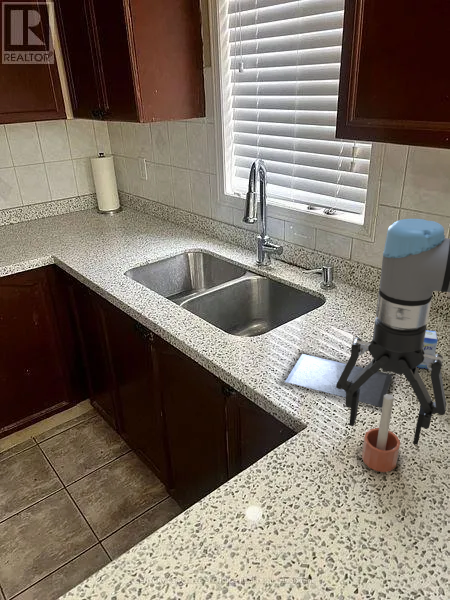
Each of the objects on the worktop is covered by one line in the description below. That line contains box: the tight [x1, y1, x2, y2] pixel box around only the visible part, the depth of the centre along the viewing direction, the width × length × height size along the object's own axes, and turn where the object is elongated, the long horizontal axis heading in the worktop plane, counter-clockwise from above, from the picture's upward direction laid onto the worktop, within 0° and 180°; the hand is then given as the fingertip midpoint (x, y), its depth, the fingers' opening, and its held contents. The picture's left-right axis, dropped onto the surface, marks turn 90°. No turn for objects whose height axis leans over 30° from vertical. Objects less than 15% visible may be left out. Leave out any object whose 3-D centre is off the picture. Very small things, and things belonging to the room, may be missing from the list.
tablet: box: [284, 353, 393, 409], centre depth 104 cm, size 22×14×1 cm, turn 63°
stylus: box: [376, 393, 395, 450], centre depth 79 cm, size 2×2×15 cm
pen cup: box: [361, 427, 401, 473], centre depth 81 cm, size 6×6×6 cm
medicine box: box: [417, 329, 439, 370], centre depth 109 cm, size 8×4×9 cm, turn 73°
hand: (383, 430), depth 79 cm, fingers open, 10 cm apart
